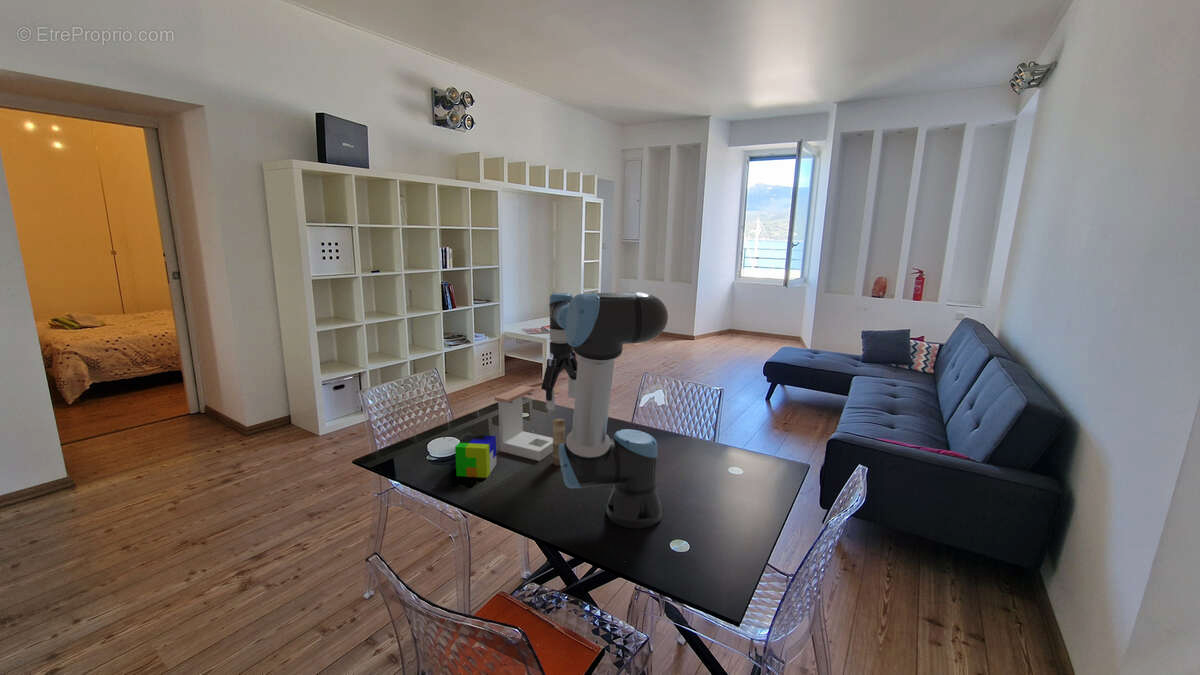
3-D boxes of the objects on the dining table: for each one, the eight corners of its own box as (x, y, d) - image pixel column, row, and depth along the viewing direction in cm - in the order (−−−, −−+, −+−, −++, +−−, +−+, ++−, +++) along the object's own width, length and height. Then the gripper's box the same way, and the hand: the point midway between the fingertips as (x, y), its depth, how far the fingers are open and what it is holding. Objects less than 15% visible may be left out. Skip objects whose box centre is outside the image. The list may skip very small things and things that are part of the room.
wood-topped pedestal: (508, 446, 170) (507, 399, 167) (496, 443, 173) (494, 397, 169) (535, 431, 184) (534, 387, 181) (523, 428, 187) (522, 385, 183)
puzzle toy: (496, 463, 165) (495, 436, 163) (487, 478, 156) (485, 448, 154) (467, 462, 166) (466, 434, 164) (456, 476, 156) (455, 446, 154)
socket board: (539, 461, 167) (539, 451, 167) (500, 451, 175) (499, 441, 174) (558, 448, 178) (558, 439, 177) (520, 439, 186) (519, 430, 185)
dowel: (560, 466, 164) (560, 424, 161) (550, 463, 165) (550, 421, 163) (567, 461, 167) (566, 420, 164) (557, 459, 169) (556, 418, 166)
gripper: (550, 349, 146) (550, 416, 150) (590, 335, 168) (589, 394, 172) (529, 346, 150) (530, 412, 154) (571, 333, 171) (571, 391, 175)
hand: (561, 403), depth 163 cm, fingers open, 13 cm apart
